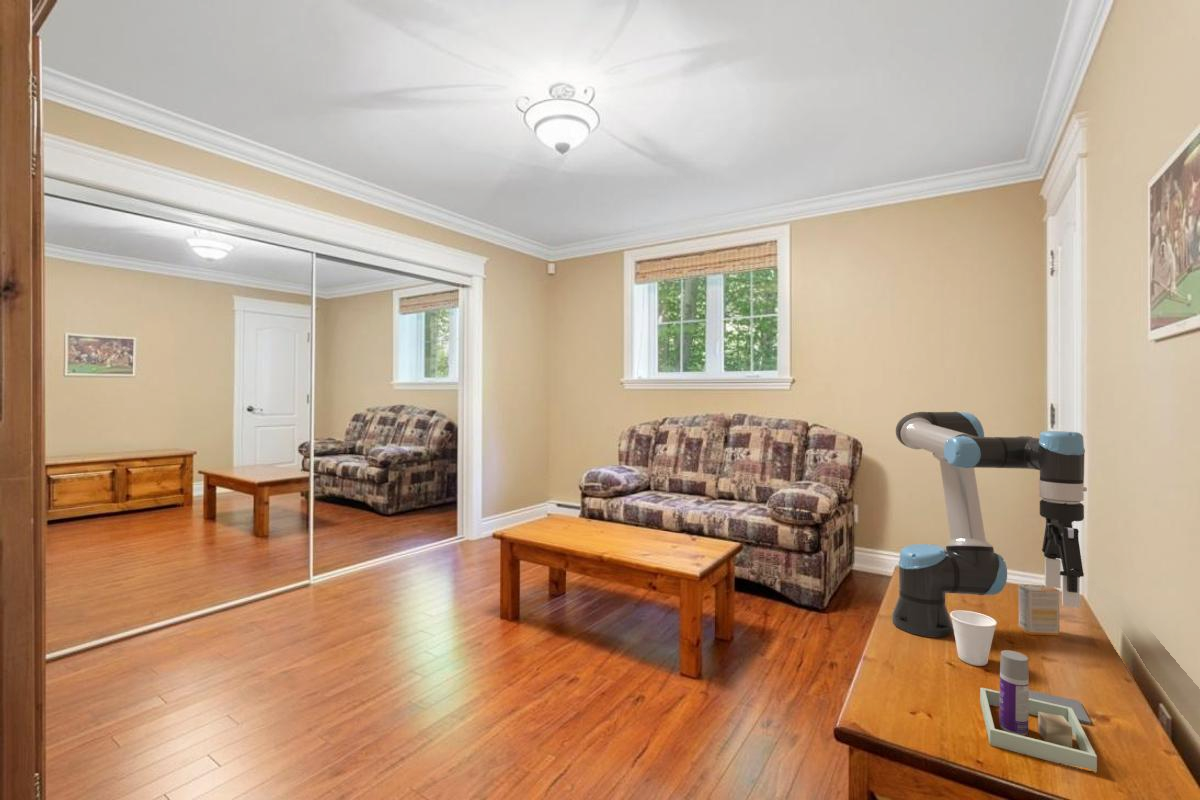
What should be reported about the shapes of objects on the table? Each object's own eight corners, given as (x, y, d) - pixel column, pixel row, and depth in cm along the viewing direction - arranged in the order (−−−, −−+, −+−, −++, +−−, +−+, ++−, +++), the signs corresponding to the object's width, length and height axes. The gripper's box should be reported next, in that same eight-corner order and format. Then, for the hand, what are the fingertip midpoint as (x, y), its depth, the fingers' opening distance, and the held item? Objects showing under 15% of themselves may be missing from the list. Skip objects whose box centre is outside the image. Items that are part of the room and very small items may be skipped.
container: (993, 722, 112) (994, 650, 112) (1014, 721, 112) (1015, 649, 112) (1012, 736, 107) (1013, 661, 107) (1034, 735, 108) (1035, 660, 108)
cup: (988, 655, 141) (989, 613, 141) (1002, 673, 132) (1003, 628, 132) (944, 649, 144) (945, 608, 144) (955, 666, 135) (956, 622, 135)
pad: (1035, 712, 116) (1035, 709, 116) (1027, 692, 123) (1027, 689, 123) (1091, 725, 111) (1091, 722, 111) (1079, 703, 119) (1079, 700, 119)
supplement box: (1047, 629, 157) (1048, 584, 157) (1060, 636, 152) (1060, 590, 152) (1017, 627, 158) (1017, 583, 158) (1028, 635, 153) (1029, 589, 153)
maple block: (1046, 743, 105) (1046, 722, 105) (1038, 731, 109) (1038, 711, 109) (1072, 747, 104) (1072, 727, 104) (1062, 735, 108) (1062, 715, 108)
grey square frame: (990, 745, 105) (990, 729, 105) (980, 700, 120) (980, 687, 120) (1096, 773, 97) (1096, 756, 97) (1071, 722, 112) (1071, 707, 112)
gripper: (1103, 512, 107) (1103, 619, 107) (1066, 493, 130) (1065, 582, 129) (1055, 508, 111) (1055, 612, 111) (1026, 491, 133) (1026, 577, 133)
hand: (1061, 596), depth 120 cm, fingers open, 13 cm apart
